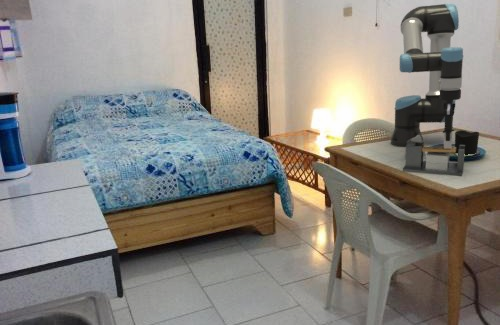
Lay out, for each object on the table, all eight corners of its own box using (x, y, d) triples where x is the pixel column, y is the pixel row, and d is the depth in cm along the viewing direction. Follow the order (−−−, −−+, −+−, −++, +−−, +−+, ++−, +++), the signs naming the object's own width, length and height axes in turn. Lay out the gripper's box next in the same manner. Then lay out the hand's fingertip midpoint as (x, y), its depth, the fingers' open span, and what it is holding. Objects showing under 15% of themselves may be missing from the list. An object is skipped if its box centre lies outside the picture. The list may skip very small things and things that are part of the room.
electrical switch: (418, 159, 192) (417, 139, 190) (406, 159, 196) (405, 139, 194) (425, 154, 199) (424, 134, 197) (413, 154, 203) (412, 134, 200)
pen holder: (461, 158, 189) (462, 136, 186) (449, 152, 198) (450, 131, 195) (481, 156, 190) (483, 134, 187) (469, 150, 199) (471, 129, 196)
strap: (414, 151, 179) (414, 148, 179) (416, 149, 183) (416, 146, 182) (455, 152, 172) (455, 149, 172) (456, 150, 176) (456, 146, 175)
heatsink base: (402, 171, 179) (403, 148, 176) (407, 162, 190) (408, 139, 187) (462, 175, 169) (463, 151, 166) (463, 165, 180) (465, 142, 177)
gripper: (441, 86, 175) (438, 143, 182) (438, 91, 164) (435, 152, 171) (461, 86, 172) (458, 144, 178) (460, 91, 161) (457, 152, 167)
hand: (447, 148), depth 175 cm, fingers closed
